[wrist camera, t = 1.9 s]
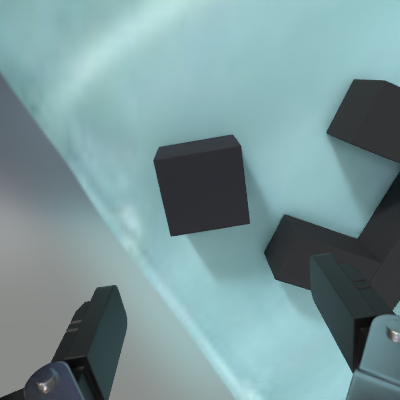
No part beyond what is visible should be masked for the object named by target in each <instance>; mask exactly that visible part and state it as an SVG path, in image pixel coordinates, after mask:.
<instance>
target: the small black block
mask: <svg viewBox="0 0 400 400" xmlns="http://www.w3.org/2000/svg"><path fill="white" fill-rule="evenodd" d="M154 166H155V170H156V174H157V179H158V183H159V187H160V192H161V196H162V200H163V205H164V209H165V213H166V218H167V222H168V226H169V231H170V235H171V236H178V235H184V234H190V233H196V232H202V231H208V230H214V229H220V228H227V227H233V226H239V225H245V224H250V219H249V211H248V202H247V194H246V185H245V177H244V168H243V160H242V151H241V145H240V144H239V143H238V141H237V140H236V138H235V137H234V135H227V136H221V137H216V138H210V139H204V140H198V141H192V142H187V143H181V144H175V145H169V146H164V147H159V148H158V151H157V153H156V156H155V158H154Z"/></svg>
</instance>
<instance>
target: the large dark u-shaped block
mask: <svg viewBox="0 0 400 400" xmlns="http://www.w3.org/2000/svg"><path fill="white" fill-rule="evenodd" d="M327 134H330V135H332V136H334V137H337V138H339V139H341V140H344V141H346V142H348V143H350V144H353V145H355V146H358V147H360V148H363V149H365V150H368V151H370V152H373V153H375V154H378V155H380V156H383V157H386V158H388V159H391V160H393V161H396V162H398V163H400V87H398V86H396V85H394V84H392V83H389V82H387V81H384V80H357V79H354V80H353V82H352V84H351V86H350V88H349V90H348V92H347V94H346V96H345V98H344V100H343V102H342V103H341V105H340V107H339V109H338V111H337V113H336V115H335V117H334V119H333V121H332V123H331V125H330V127H329V129H328V131H327ZM325 253H330V254H331V255H332V256H333V257H334V258H335V260H336V261H337V262H338V264H344V263H347V264H348V265H350V266H352V267H354V268H355V269H357V270H358V271H359V272H360V273H361V274H362V275H363V277H364V278H365V280H366V281H368V283H369V284H370V285H371V286H372V288H374V290H375V291H376V292H377V293H378V294H379V296H380V297H381V298H382V299H383V300H384V301H385V303H386V304H387V305H388V306H389V307H390V309H391V310H393V309H394V307H395V306H396V305H397V303H398V302H399V301H400V173H399V175H398V176H397V178H396V179H395V181H394V183H393V184H392V186H391V187H390V189H389V190H388V192H387V194H386V195H385V197H384V198H383V200H382V202H381V203H380V205H379V206H378V208H377V209H376V211H375V213H374V214H373V216H372V217H371V219H370V221H369V222H368V224H367V225H366V227H365V228H364V230H363V232H362V233H361V235H360V236H359V238H358V240H357V239H355V238H352V237H349V236H346V235H344V234H341V233H338V232H335V231H332V230H329V229H326V228H323V227H320V226H317V225H314V224H312V223H309V222H306V221H303V220H300V219H297V218H294V217H291V216H288V215H284V216H283V218H282V220H281V222H280V224H279V226H278V228H277V230H276V232H275V233H274V235H273V237H272V239H271V241H270V243H269V245H268V247H267V249H266V251H265V253H264V254H265V256H266V259H267V261H268V263H269V266H270V268H271V271H272V273H273V275H274V278H275V279H276V280H279V281H282V282H285V283H289V284H292V285H295V286H298V287H302V288H305V289H308V290H311V283H310V256H312V255H318V254H325Z"/></svg>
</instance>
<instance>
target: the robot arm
mask: <svg viewBox="0 0 400 400" xmlns="http://www.w3.org/2000/svg"><path fill="white" fill-rule="evenodd" d="M310 283H311V292H312V296H313V299H314V302H315V304H316V306H317V308H318V309H319V311H320V313H321V315H322V317H323V319H324V321H325V322H326V324H327V326H328V328H329V330H330V332H331V334H332V336H333V337H334V339H335V341H336V343H337V345H338V347H339V349H340V350H341V352H342V354H343V356H344V358H345V360H346V362H347V364H348V365H349V367H350V369H351V371H352V373H353V377H352V380H351V383H350V387H349V390H348V394H347V397H346V400H400V316H399V315H396V314H395V313H394V312H393V311H392V310H391V309H390V307H389V306H388V305H387V304H386V303H385V301H384V300H383V299H382V298H381V297H380V296H379V294H378V293H377V292H376V291H375V290H374V288H372V286H371V285H370V284H369V283H368V281H366V280H365V278H364V277H363V275H362V274H361V273H360V272H359V271H358V270H357V269H355V268H354V267H352V266H350V265H348V264H347V263H344V264H338V262H337V261H336V260H335V258H334V257H333V256H332V255H331V254H330V253H325V254H318V255H312V256H310ZM126 330H127V316H126V312H125V309H124V306H123V303H122V299H121V296H120V293H119V290H118V288H117V286H116V285H112V286H105V287H98V288H97V289H96V290H95V292H94V294H93V297H92V299H91V301H88V302H85V303H84V304H83V305H82V306H81V307H80V308H79V309H78V310H77V311H76V312H75V315H74V316H73V318H72V321H71V324H70V325H69V327H68V329H67V332H66V333H65V335H64V337H63V339H62V341H61V343H60V345H59V347H58V349H57V351H56V353H55V355H54V357H53V359H52V361H51V363H49V364H47V365H45V366H43V367H42V368H40V369H39V370H37V371H36V372H35V373H34V374H33V375H32V376H31V377H30V378H29V380H28V381H27V383H26V385H25V387H24V388H23V389H20V390H18V391H15V392H13V393H11V394H8V395H6V396H3V397H1V398H0V400H108V399H109V395H110V392H111V387H112V384H113V380H114V376H115V372H116V368H117V365H118V360H119V357H120V353H121V349H122V345H123V341H124V337H125V334H126Z"/></svg>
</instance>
